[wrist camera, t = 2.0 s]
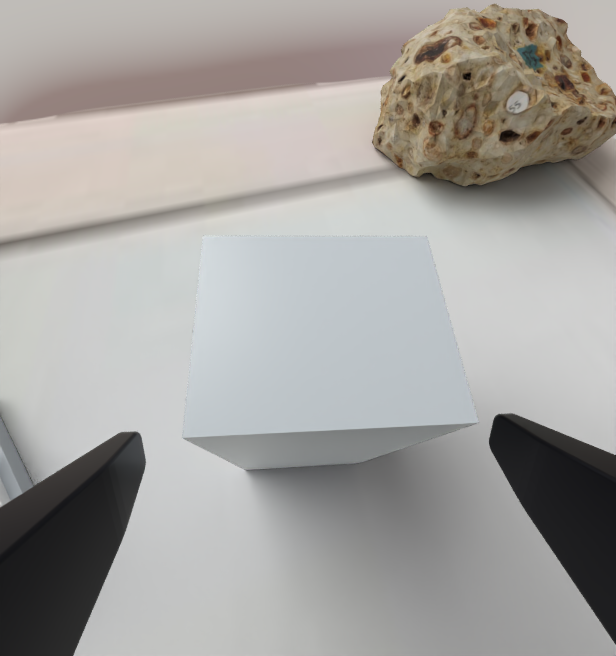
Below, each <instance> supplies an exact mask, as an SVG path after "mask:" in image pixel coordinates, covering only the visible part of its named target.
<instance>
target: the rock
mask: <svg viewBox="0 0 616 656" xmlns="http://www.w3.org/2000/svg"><path fill="white" fill-rule="evenodd" d="M567 28H568V25H567V23H566V22H565V21H564V20H561V19H558V18H555V17H551V16H549V15H547V14H546V13H544V12H542V11H541V10H539V9H531V10H520V9H509V8H502V7H500V6H498V5H497V4H493V5H490V6H488V7H487V8H485V9H484V10H483V11H481V12H480V13H478V12H477V11H475V10H470V9H469V8H461V9H451V10H449V12H448V13H447V15H446V16H445V17H444V19H442V20H441V21H439V22H437V23H435V24H434V25H432V26H428V27H427V28H426V29H424V30H423V31H421V32H420V33H418V34H417V35H416V36H414V37H413V38H411V39H410V40H409V41H407V42H406V43H405V44H404V45H403V47H402V49H401V52H402V56H401V57H400V58H399V59H398V60H397V61H396V62H395V64H394V65H393V66H392V68H391V70H390V74H391V76H392V78H391V80H390V81H389V82H387V83H386V84H385V85H383V87H382V90H381V114H380V117H379V120H378V125H377V126H376V128H375V132H374V136H373V141H372V143H373V145H374V147H375V148H377V149H378V150H380V151H381V152H383V153H384V154H385V155H386V156H387V157H388V158H389V159H391V160H392V161H393V162H394V163H395V164H396V165H397V166H398V167H399V168H402V169H405V170H406V171H407V172H408V173H409V174H410V175H412V176H413V177H414V176H416V177H418V178H419V177H420V176H421V175H422V174H423V173H432V174H433V175H434V176H435V177H436V178H439V179H446V180H450V181H452V182H454V183H456V184H459V185H461V186H467V185H469V184H470V185H472V184H478V185H483V184H486V183H489V182H493V181H497V180H500V179H503V178H505V177H507V176H509V175H511V174H513V173H515V172H517V171H518V170H519V168H521V167H525V166H529V165H533V164H542V163H545V162H552V163H555V162H559V161H563V160H566V159H573V160H577V159H580V158H583V157H584V156H586V155H587V154H589V153H590V152H592V151H593V150H595V149H596V148H598V147H599V146H601V145H602V144H603V143H604V142H606V141H607V140H608V139H609V138H611V137H612V136H613V135H614V134H616V96H615V95H614V93H613V91H612V89H611V88H610V87H609V86H608V85H607V84H606V83H603V82H602V81H601V80H600V79H599V78H598V77H597V75H596V73H595V71H594V68H593V67H592V66H591V65H590V64H589V63H588V62H587V61H586V60H585V59H584V58H582V57H581V51H580V50H579V49H578V48H577V47H576V46H575V45H573V44H572V43H571V41H570V40H569V39H568V37H567V34H566V32H567Z"/></svg>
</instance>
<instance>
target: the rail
mask: <svg viewBox="0 0 616 656" xmlns="http://www.w3.org/2000/svg"><path fill="white" fill-rule="evenodd" d="M32 487H33V483H32V481H31V479H30V477H29V475H28V473H27V471H26V469H25V467H24V465H23V462H22V460H21V458H20V456H19V454H18V452H17V450H16V448H15V446H14V444H13V441H12V439H11V437H10V435H9V433H8V431H7V429H6V427H5V425H4V423H3V420H2V418H1V416H0V507H1V506H3V505H4V504H6V503H8V502H9V501H11V500H12V499H14V498H16V497H17V496H19V495H21V494H22V493H24V492H25V491H27V490H29V489H30V488H32Z"/></svg>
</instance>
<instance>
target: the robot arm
mask: <svg viewBox="0 0 616 656" xmlns="http://www.w3.org/2000/svg"><path fill="white" fill-rule="evenodd" d="M489 445H490V449H491V451H492V453H493V455H494V456H495V458H496V460H497V462H498V464H499V465H500V467H501V469H502V471H503V473H504V474H505V476H506V478H507V480H508V482H509V483H510V485H511V487H512V489H513V491H514V492H515V494H516V496H517V498H518V499H519V501H520V503H521V505H522V506H523V508H524V509H525V511H526V512H527V514H528V515H529V517H530V518H531V520H532V521H533V523H534V524H535V526H536V527H537V529H538V530H539V532H540V533H541V535H542V536H543V538H544V539H545V541H546V542H547V544H548V545H549V546H550V548H551V549H552V551H553V552H554V554H555V555H556V557H557V558H558V560H559V561H560V563H561V564H562V566H563V567H564V569H565V570H566V572H567V573H568V575H569V576H570V578H571V579H572V581H573V582H574V584H575V585H576V586H577V588H578V589H579V591H580V592H581V594H582V595H583V597H584V598H585V600H586V601H587V603H588V604H589V606H590V607H591V609H592V610H593V612H594V613H595V615H596V616H597V618H598V619H599V621H600V622H601V624H602V625H603V626H604V628H605V629H606V631H607V632H608V634H609V635H610V637H611V638H612V640H613V641H614V643H615V644H616V455H614V454H611V453H609V452H606V451H604V450H601V449H599V448H596V447H594V446H592V445H589V444H587V443H584V442H582V441H579V440H577V439H574V438H572V437H569V436H567V435H565V434H562V433H560V432H557V431H555V430H552V429H550V428H547V427H545V426H542V425H540V424H538V423H535V422H533V421H530V420H528V419H525V418H523V417H520V416H518V415H515V414H511V413H510V414H498V415H496V416H495V418H494V421H493V425H492V429H491V434H490V438H489ZM145 465H146V459H145V454H144V449H143V443H142V438H141V435H140V433H138V432H121V433H118V434H117V435H115V436H114V437H112V438H110V439H109V440H107V441H106V442H104V443H102V444H101V445H99V446H98V447H96V448H94V449H93V450H91V451H90V452H88V453H86V454H85V455H83V456H82V457H80V458H78V459H77V460H75V461H73V462H72V463H70V464H69V465H67V466H65V467H64V468H62V469H61V470H59V471H57V472H56V473H54V474H53V475H51V476H49V477H48V478H46V479H45V480H43V481H41V482H40V483H38V484H37V485H35V486H33V487H32V488H30V489H29V490H27V491H25V492H24V493H22V494H21V495H19V496H17V497H16V498H14V499H12V500H11V501H9V502H8V503H6V504H4V505H3V506H1V507H0V656H73V655H74V652H75V650H76V648H77V645H78V643H79V640H80V638H81V636H82V633H83V631H84V629H85V626H86V624H87V622H88V619H89V617H90V615H91V612H92V610H93V608H94V605H95V603H96V601H97V598H98V596H99V593H100V591H101V589H102V586H103V584H104V582H105V579H106V577H107V575H108V572H109V570H110V568H111V565H112V563H113V561H114V558H115V556H116V554H117V551H118V549H119V546H120V544H121V542H122V539H123V536H124V534H125V531H126V528H127V525H128V522H129V519H130V516H131V512H132V509H133V506H134V503H135V499H136V496H137V493H138V490H139V486H140V483H141V480H142V477H143V474H144V470H145Z"/></svg>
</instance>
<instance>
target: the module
mask: <svg viewBox="0 0 616 656" xmlns="http://www.w3.org/2000/svg"><path fill="white" fill-rule="evenodd" d="M477 423H479V420H478V417H477V413H476V410H475V406H474V403H473V399H472V395H471V392H470V388H469V385H468V381H467V377H466V374H465V370H464V367H463V363H462V359H461V356H460V352H459V349H458V345H457V342H456V338H455V334H454V331H453V327H452V324H451V320H450V316H449V313H448V309H447V306H446V302H445V298H444V295H443V291H442V288H441V284H440V281H439V277H438V273H437V270H436V266H435V263H434V259H433V255H432V252H431V248H430V245H429V241H428V237H427V236H203V240H202V250H201V259H200V269H199V279H198V289H197V298H196V308H195V318H194V328H193V337H192V347H191V357H190V367H189V376H188V386H187V396H186V406H185V415H184V425H183V435H182V438H183V439H185V440H187V441H189V442H191V443H193V444H195V445H197V446H199V447H201V448H203V449H205V450H207V451H209V452H211V453H213V454H215V455H217V456H219V457H221V458H223V459H225V460H226V461H228V462H230V463H232V464H234V465H236V466H238V467H240V468H242V469H244V470H255V469H272V468H289V467H305V466H322V465H339V464H355V463H361V462H364V461H367V460H370V459H373V458H376V457H379V456H382V455H385V454H388V453H391V452H394V451H397V450H400V449H403V448H406V447H409V446H412V445H415V444H418V443H421V442H424V441H427V440H430V439H433V438H436V437H439V436H442V435H444V434H447V433H450V432H453V431H456V430H459V429H462V428H465V427H468V426H471V425H474V424H477Z"/></svg>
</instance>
